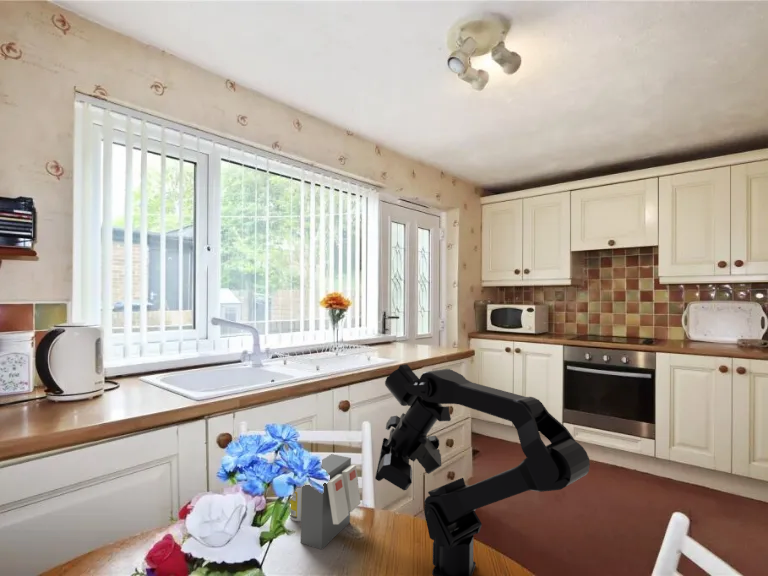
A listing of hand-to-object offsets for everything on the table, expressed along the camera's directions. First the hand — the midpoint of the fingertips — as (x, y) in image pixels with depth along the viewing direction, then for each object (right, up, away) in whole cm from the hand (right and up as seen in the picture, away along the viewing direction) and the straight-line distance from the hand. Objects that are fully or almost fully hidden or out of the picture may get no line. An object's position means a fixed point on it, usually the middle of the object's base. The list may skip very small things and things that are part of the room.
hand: (377, 478), depth 86 cm
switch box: (-11, -11, +1) cm, 16 cm away
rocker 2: (-5, -6, +1) cm, 8 cm away
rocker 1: (-7, -6, -4) cm, 10 cm away
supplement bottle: (-17, -12, +7) cm, 22 cm away
